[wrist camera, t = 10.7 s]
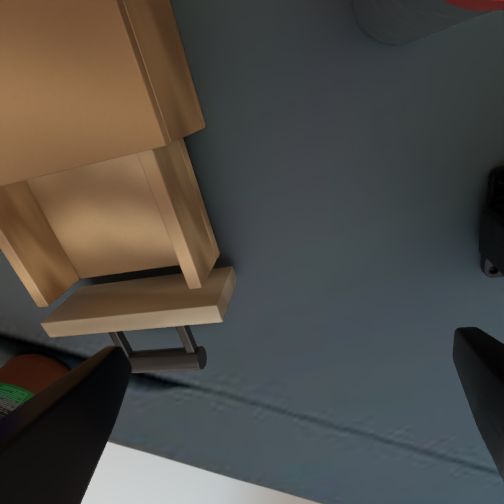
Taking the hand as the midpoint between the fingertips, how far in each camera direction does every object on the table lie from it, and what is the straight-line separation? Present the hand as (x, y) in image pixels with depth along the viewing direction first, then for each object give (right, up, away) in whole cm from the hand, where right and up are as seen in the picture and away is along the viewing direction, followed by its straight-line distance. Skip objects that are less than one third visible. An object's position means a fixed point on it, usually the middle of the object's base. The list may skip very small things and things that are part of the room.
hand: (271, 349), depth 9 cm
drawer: (-8, +3, +13) cm, 15 cm away
